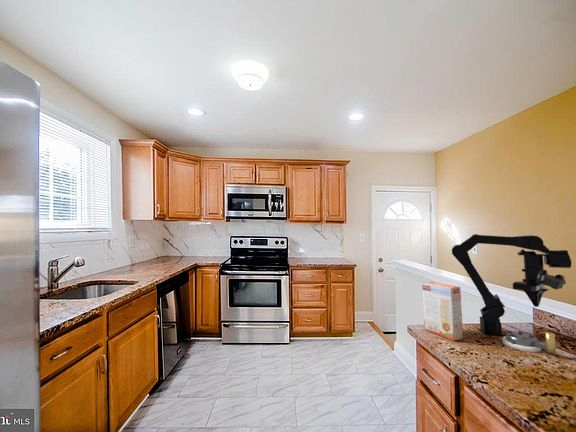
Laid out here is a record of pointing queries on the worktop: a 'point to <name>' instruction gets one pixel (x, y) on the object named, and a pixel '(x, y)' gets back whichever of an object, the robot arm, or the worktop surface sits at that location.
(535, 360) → the worktop surface
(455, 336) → the cracker box
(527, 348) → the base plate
